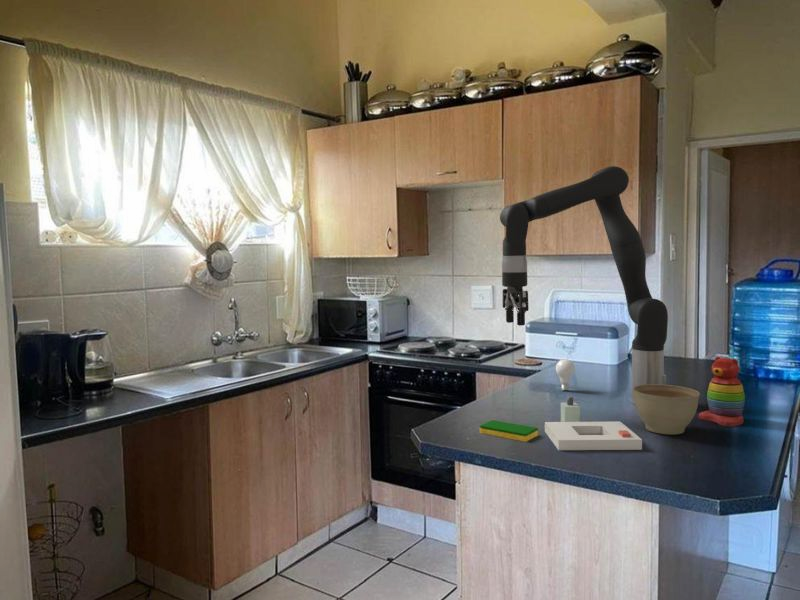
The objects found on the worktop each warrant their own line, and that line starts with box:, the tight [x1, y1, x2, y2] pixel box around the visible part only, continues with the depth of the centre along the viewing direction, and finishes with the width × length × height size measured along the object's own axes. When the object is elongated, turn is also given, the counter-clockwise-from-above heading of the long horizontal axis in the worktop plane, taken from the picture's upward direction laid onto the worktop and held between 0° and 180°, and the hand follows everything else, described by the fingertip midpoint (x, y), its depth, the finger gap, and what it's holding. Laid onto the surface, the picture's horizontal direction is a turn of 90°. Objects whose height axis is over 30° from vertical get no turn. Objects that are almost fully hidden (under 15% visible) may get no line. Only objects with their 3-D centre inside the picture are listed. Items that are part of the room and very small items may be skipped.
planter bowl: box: [633, 384, 701, 436], centre depth 163 cm, size 16×16×11 cm
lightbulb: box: [555, 358, 576, 392], centre depth 212 cm, size 6×6×11 cm
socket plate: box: [544, 420, 643, 451], centre depth 156 cm, size 20×16×3 cm
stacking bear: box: [698, 356, 746, 428], centre depth 171 cm, size 11×10×18 cm
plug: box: [560, 396, 581, 422], centre depth 169 cm, size 4×5×8 cm
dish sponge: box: [479, 419, 539, 442], centre depth 163 cm, size 7×14×2 cm, turn 52°
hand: (515, 323), depth 187 cm, fingers open, 8 cm apart
